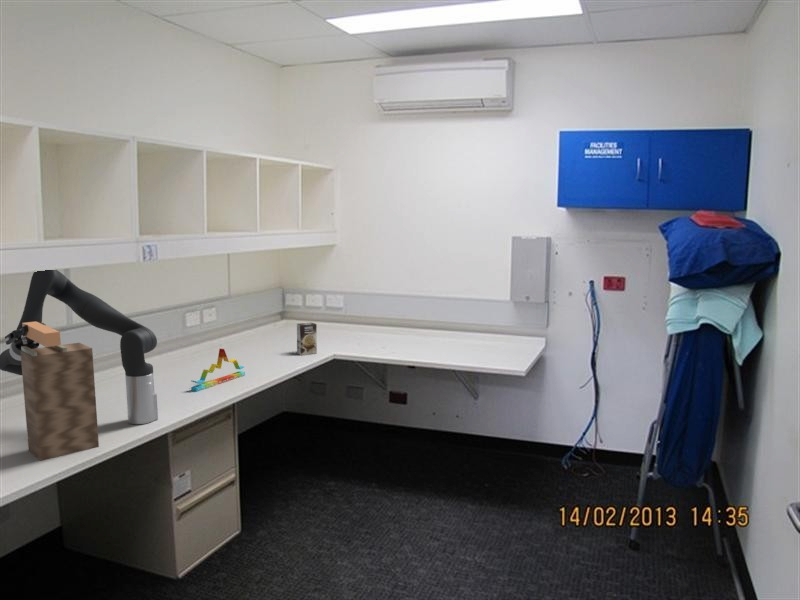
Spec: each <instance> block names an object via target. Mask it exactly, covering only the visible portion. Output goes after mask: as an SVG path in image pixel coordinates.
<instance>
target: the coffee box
mask: <svg viewBox="0 0 800 600" xmlns="http://www.w3.org/2000/svg"><path fill="white" fill-rule="evenodd" d="M317 325H318V324H317V323H315V322H302V323H296V354H298V355H299V356H307V355H310V356H311V355H316V354H317V355H318V345H317V344H318V343H317V342H318V340H317V336H318V335H317V334H318V333H317V331H318V330H317V328H318V327H317Z"/></svg>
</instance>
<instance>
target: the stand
mask: <svg viewBox="0 0 800 600" xmlns="http://www.w3.org/2000/svg"><path fill="white" fill-rule="evenodd" d="M20 352H21V364H22V375H21V376H22V386H23V396H24V397H23V398H24V410H25V423H26V437H27V447H28V452H30V453H31V454H32V455H33V456H34V457H36V458H37V460H39V461H40V462H41V461H44V460H48V459H53V458H57V457H61V456H65V455H70V454H74V453H77V452H78V453H79V452H81V451H82V452H83V451H86V450H90V449H95V448H99V447H100V442H99V429H98V428H99V427H98V413H97V402H96V400H97V399H96V398H97V397H96V387H95V386H96V383H95V371H94V370H95V369H94V368H95V367H94V356H93V347H90V346H88V345H86V344H84V343H82V342H74V343H67V344H61V345H57V346H49V347H45V346H43V347H38V348H35V349H30V348H29V347H27V346H21V350H20Z"/></svg>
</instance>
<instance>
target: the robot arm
mask: <svg viewBox="0 0 800 600" xmlns="http://www.w3.org/2000/svg"><path fill="white" fill-rule="evenodd" d="M28 287H29V288H28V291H27V297H26V299H25V304H24V308H23V312H22V315H21V317H20V321H19V323H18V324H17V327H16V330H15V329H14V330H13V331H10V332H9V333H8V334H7V335H6V336H4V340H5V344H6V346H7V345H9V348H7V349H5V350H3V351H2V352H1V353H0V371H3V372H7V373H10V374H13V375H18V376H22V364H21V352H20V350H21V346H27V347H29V348H30V349H35V348H39V346H40V344H39V343H37V342H35V341H33V340H31V339H29V338H27V337H26V336H25V335H27V333H28V331H29V330H28V325H25V326H23V327H22V323H26V322H39V323H41V324H43V325H45V326H47V324H46V323H44V322H43V309H44V303H45V301H46V298H47V297H46V296H47V295H48V296H51V298H54V299H56V300H58V301H59V302H62V303H64V304H65V305H66V306H68V307H69V308H70V309H71V310H72V311H73V313H74V314H76V315H77V316H78V317H79V318H81V320H84V321H85V322H86V323H87V324H89V325H91V326H93V327H95V328H97V329H100V330H104V331H106V332H107V331H108V332H111V333H113V334H117V335H119V336H121V338H120V340H119V341H120V342H119V347H120V349H119V350H120V356H121V365H122V367H123V370H124V372H125V373H124V374H125V376H124V377H125V390H126V405H127V406H126V408H127V422H128V423H129V424H131V425H143V424H144V425H145V424H149V423H153V422H154V421H157V420H158V419H159V412H158V410H159V409H158V395H157V393H156V392H155V379H154V365H152V364H151V363H148V362H146V361H145V359H146V358H145V354H148V353H150V352H153V350H155V349H156V347H157V345H158V338H157V336H156V334H155V333H154V331H153V330H151V329H150V328H148V327H147V326H144V325H143V324H141V323H139V322H137V321H134V320H133V319H131V318H130V317H128V316H126V315H125V314H123V313H122V312H120V311H119V310H117V309H116V308H114V307H113V306H111V305H110V304H109V303H107V302H105V301H104V299H101V298H100V297H98V296H96V295H94V294H93V293H90V292H88V291H86V290H83V289H81V288H79V287H78V286H77V285H76V284H74V283H73V282H72V281H71V280H70V279H69V278H68V277H67V276H66V275H64V274H63V273H62V272H61V271H59V269H56V270H45V271H37V272H34V271H33V273H32V275H31V279H30V284H29V286H28Z"/></svg>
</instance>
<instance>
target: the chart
mask: <svg viewBox="0 0 800 600" xmlns="http://www.w3.org/2000/svg"><path fill="white" fill-rule="evenodd" d="M223 362H226V363H232V364H233V365H234V368H235V369H236V370H238V371H236V372H232V373H229V374H227V375H225V376H220V377H217V378H215V379H212V380H209V381H206V378H207V376H208V373H209V374H211V373H212V374H213V373H214V372H215V369H218V370H219V369H222V365H223ZM244 368H245V366H243V365H242V366H241V365H239V363H238V360H237V359H234V358H231V359H229V358H228V356H227V352H226V351H225V348H219V350H218V355H217V362H216V364H214V363H211V365H210V367H209V368H208V369H204V368H203V370H202V373H201V376H200V379H199V380H191V382H192V383H195V384H197V385H193V386H191V389H190V390H191V392H195V393H197V392H200V391H203V390H206V389H210V388H212V387H215V386H218V385H220V384H224V383H227V382H229V381H232V380H235V379H238V378H241V377H245V376H246V372H245V371H242V369H244ZM205 381H206V382H205Z"/></svg>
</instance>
